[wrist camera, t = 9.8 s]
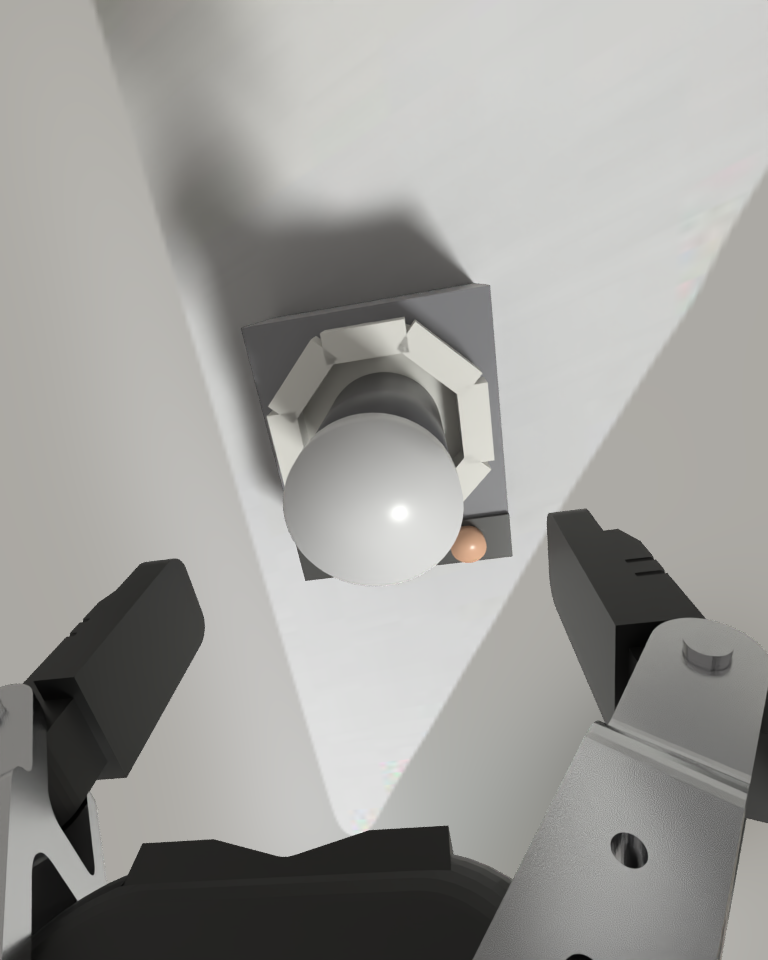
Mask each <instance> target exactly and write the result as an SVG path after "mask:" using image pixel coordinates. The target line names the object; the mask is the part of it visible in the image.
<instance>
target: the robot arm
mask: <svg viewBox="0 0 768 960" xmlns="http://www.w3.org/2000/svg"><path fill="white" fill-rule="evenodd" d="M547 537H548V558H549V577H550V586H551V592H552V597H553V600H554V604H555V607H556V609H557V612H558V614H559V616H560V619H561V621H562V623H563V626H564V628H565V630H566V633H567V635H568V637H569V640H570V642H571V644H572V647H573V649H574V651H575V654H576V656H577V658H578V661H579V663H580V665H581V668H582V670H583V672H584V675H585V677H586V679H587V682H588V684H589V686H590V688H591V690H592V693H593V696H594V698H595V700H596V702H597V705H598V707H599V710H600V712H601V714H602V717H603V719H604V721H605V723H603V722H601V721H596V722H594V723H593V724H592V725H591V726H590V728H589V729H588V731H587V733H586V735H585V737H584V739H583V741H582V743H581V745H580V747H579V748H578V750H577V752H576V754H575V757H574V759H573V761H572V763H571V764H570V766H569V768H568V770H567V772H566V774H565V776H564V778H563V780H562V783H561V784H560V786H559V788H558V790H557V792H556V795H555V797H554V798H553V800H552V802H551V804H550V806H549V808H548V810H547V812H546V815H545V816H544V818H543V820H542V822H541V824H540V826H539V828H538V830H537V832H536V834H535V836H534V838H533V840H532V842H531V844H530V846H529V848H528V850H527V852H526V854H525V856H524V858H523V860H522V862H521V864H520V867H519V868H518V870H517V872H516V874H515V876H514V878H513V879H511V878H510V877H508V876H506V875H504V874H503V873H501V872H499V871H497V870H495V869H494V868H491V867H490V866H487V865H485V864H482V863H479V862H477V861H474V860H472V859H469V858H465V857H461V856H458V855H454V854H453V850H452V844H451V838H450V833H449V827H448V826H435V827H418V828H401V829H385V830H384V829H383V830H369V831H366V832H363V833H360V834H357V835H354V836H351V837H348V838H345V839H342V840H339V841H336V842H333V843H330V844H327V845H324V846H321V847H318V848H315V849H312V850H309V851H306V852H303V853H300V854H297V855H294V856H290V857H278V856H274V855H270V854H267V853H263V852H259V851H256V850H252V849H248V848H244V847H240V846H237V845H233V844H229V843H226V842H222V841H218V840H214V839H212V840H197V841H196V840H195V841H178V842H161V843H143V844H142V846H141V848H140V850H139V852H138V855H137V857H136V859H135V861H134V863H133V865H132V867H131V870H130V872H129V874H128V875H127V876H124V877H122V878H120V879H117V880H115V881H113V882H111V883H109V884H107V880H106V873H105V866H104V858H103V850H102V842H101V835H100V828H99V820H98V813H97V805H96V801H95V799H94V797H93V796H92V794H91V792H90V790H91V788H92V786H93V785H94V783H95V781H96V780H101V779H114V778H126V777H127V776H128V774H129V772H130V771H131V769H132V767H133V765H134V763H135V761H136V760H137V758H138V756H139V754H140V753H141V751H142V749H143V747H144V745H145V744H146V742H147V740H148V738H149V737H150V735H151V733H152V731H153V729H154V728H155V726H156V724H157V722H158V720H159V719H160V717H161V715H162V713H163V711H164V710H165V708H166V706H167V704H168V702H169V701H170V699H171V697H172V695H173V694H174V691H175V690H176V688H177V686H178V685H179V683H180V681H181V679H182V677H183V676H184V674H185V672H186V670H187V668H188V667H189V665H190V663H191V661H192V660H193V658H194V656H195V654H196V652H197V651H198V649H199V647H200V645H201V643H202V640H203V637H204V631H205V630H204V629H205V624H204V617H203V613H202V611H201V608H200V605H199V602H198V600H197V597H196V594H195V592H194V589H193V586H192V583H191V581H190V578H189V576H188V573H187V570H186V568H185V565H184V564H183V563H182V561H180V560H179V559H167V560H159V561H151V562H144V563H141V564H140V565H139V566H138V567H137V568H136V569H135V570H134V571H133V572H132V574H131V575H130V576H129V577H128V578H127V579H126V580H125V581H124V582H123V584H121V586H120V587H119V588H118V589H117V590H116V591H114V592H113V593H112V594H110V595H109V596H107V597H106V598H104V599H103V600H102V601H100V602H99V603H98V604H97V605H96V606H95V607H94V608H93V609H92V610H91V611H90V612H89V613H88V614H87V616H86V617H85V618H84V619H83V622H82V623H79V624H78V625H77V626H76V627H75V628H74V629H73V630H72V632H71V633H70V637H66V638H65V639H64V640H63V641H62V642H61V643H60V644H59V646H58V647H57V648H56V649H55V650H54V651H53V652H52V653H51V654H50V655H49V656H48V657H47V658H46V659H45V660H44V662H43V663H42V664H41V665H40V666H39V667H38V668H37V669H36V670H35V671H34V672H33V673H32V674H31V675H30V677H29V678H28V679H27V680H26V681H25V682H24V683H23V684H10V685H6V686H2V687H0V960H721V958H722V953H723V947H724V941H725V935H726V930H727V924H728V919H729V913H730V908H731V902H732V896H733V891H734V885H735V880H736V874H737V869H738V863H739V857H740V852H741V846H742V841H743V835H744V830H745V824H746V819H747V818H749V819H753V820H757V821H761V822H765V823H768V654H767V653H766V651H765V650H764V649H763V647H762V646H761V645H760V644H759V643H758V642H757V641H755V640H754V639H753V638H752V637H750V636H749V635H747V634H746V633H744V632H742V631H740V630H738V629H736V628H734V627H732V626H729V625H727V624H723V623H720V622H717V621H712V620H708V619H705V617H704V616H703V615H702V614H701V612H700V611H699V610H698V609H697V608H696V607H695V605H694V604H693V603H692V602H691V601H690V600H689V598H688V597H687V596H686V595H685V594H684V592H683V591H682V590H681V589H680V588H679V586H678V585H677V584H676V583H675V582H674V581H673V580H672V578H671V577H670V576H669V575H668V573H665V572H664V569H663V567H662V566H661V565H660V564H659V563H658V562H657V561H656V560H654V559H653V556H652V554H651V553H650V552H649V551H648V550H647V549H646V547H645V546H644V545H643V544H642V543H641V541H639V540H637V539H636V538H634V537H632V536H630V535H628V534H626V533H624V532H623V531H621V530H619V529H614V530H606V531H603V530H602V528H601V527H600V526H599V524H598V523H597V522H596V521H595V519H594V517H593V516H592V515H591V513H590V512H589V511H588V510H587V509H578V510H570V511H562V512H554V513H549V514H548V516H547Z"/></svg>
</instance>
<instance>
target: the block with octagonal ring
mask: <svg viewBox="0 0 768 960" xmlns="http://www.w3.org/2000/svg"><path fill="white" fill-rule="evenodd" d="M241 330H242V334H243V338H244V342H245V346H246V349H247V353H248V357H249V361H250V365H251V369H252V372H253V376H254V380H255V384H256V388H257V392H258V395H259V399H260V403H261V407H262V411H263V415H264V418H265V422H266V426H267V430H268V434H269V438H270V441H271V445H272V449H273V453H274V457H275V461H276V464H277V468H278V472H279V476H280V480H281V484H282V487H283V491H284V487H285V483H286V479H287V477H288V474H289V472H290V469H291V468H292V466H293V464H294V462H295V461H296V459H297V457H298V456H299V454H300V453H301V451H302V449H303V448H304V446H305V445H306V444H307V443H308V441H309V440H310V439H311V438H312V437H313V436H314V435H315V434H316V432H317V430H318V429H319V427H320V425H321V424H322V422H323V420H324V418H325V417H326V415H327V413H328V412H329V410H330V408H331V406H332V405H333V403H334V401H335V400H336V398H337V396H338V395H339V394H340V392H341V391H342V390H343V389H344V388H345V387H346V386H347V385H348V384H350V383H351V382H353V381H354V380H356V379H358V378H360V377H362V376H365V375H367V374H371V373H377V372H392V373H397V374H401V375H404V376H407V377H409V378H411V379H413V380H414V381H416V382H418V383H419V384H420V385H421V386H423V387H424V388H425V389H426V390H427V391H428V392H429V394H430V395H431V396H432V398H433V399H434V401H435V403H436V405H437V407H438V410H439V413H440V417H441V422H442V426H443V430H444V434H445V438H446V442H447V447H448V451H449V454H450V456H451V458H452V460H453V462H454V465H455V467H456V470H457V473H458V477H459V481H460V485H461V489H462V494H463V505H464V511H463V520H462V524H461V528H460V531H459V534H458V536H457V538H456V541H455V542H454V544H453V546H452V547H451V549H450V550H449V552H448V553H447V554H446V555H445V557H444V558H443V559H442V560H441V561H440V562H439V563H438V564H437V565H443V564H452V563H460V562H465V563H471V562H475V561H478V560H485V559H494V558H502V557H511V556H512V544H511V532H510V519H509V513H508V503H507V490H506V478H505V466H504V453H503V441H502V428H501V416H500V404H499V391H498V379H497V366H496V354H495V342H494V329H493V317H492V304H491V292H490V285H486V284H476V283H472V284H467V285H461V286H455V287H449V288H444V289H438V290H432V291H426V292H421V293H415V294H409V295H403V296H398V297H392V298H386V299H380V300H375V301H369V302H363V303H358V304H352V305H346V306H340V307H335V308H329V309H323V310H317V311H312V312H306V313H300V314H294V315H289V316H283V317H277V318H272V319H268V320H265V321H262V322H259V323H256V324H252V325H249V326H246V327H243V328H241ZM296 547H297V545H296ZM297 550H298V554H299V558H300V562H301V566H302V570H303V573H304V577H305V581H308V580H316V579H325V578H333V577H332V576H331V575H329V574H327V573H325V572H323V571H322V570H321V569H319V568H318V567H316V566H315V565H314V564H313V563H312V562H310V561H309V560H308V559H307V558H306V557H305V556H304V555H303V553H302V552H301V551H300V550H299V548H298V547H297Z"/></svg>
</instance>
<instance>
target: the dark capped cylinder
mask: <svg viewBox="0 0 768 960" xmlns="http://www.w3.org/2000/svg"><path fill="white" fill-rule="evenodd" d="M283 511H284V517H285V522H286V525H287V528H288V531H289V533H290V535H291V537H292V539H293V541H294V542H295V544H296V545H297V547H298V548H299V550H300V551H301V552H302V553H303V555H304V556H305V557H306V558H307V559H308V560H309V561H310V562H312V563H313V564H314V565H315V566H316V567H318V568H319V569H321V570H322V571H323V572H325V573H327V574H329V575H331V576H332V577H335V578H337V579H340V580H342V581H345V582H348V583H352V584H357V585H363V586H389V585H395V584H400V583H403V582H406V581H409V580H412V579H414V578H416V577H419V576H420V575H422V574H424V573H426V572H427V571H429V570H430V569H431V568H433V567H434V566H435V565H437V564H438V563H439V562H440V561H441V560H442V559H443V558H444V557H445V555H446V554H447V553H448V552H449V550H450V549H451V547H452V546H453V544H454V542H455V541H456V538H457V536H458V534H459V531H460V528H461V524H462V520H463V511H464V505H463V494H462V489H461V485H460V481H459V477H458V473H457V470H456V467H455V465H454V462H453V460H452V458H451V456H450V454H449V451H448V447H447V442H446V438H445V434H444V430H443V426H442V422H441V417H440V413H439V410H438V407H437V405H436V403H435V401H434V399H433V398H432V396H431V395H430V394H429V392H428V391H427V390H426V389H425V388H424V387H423V386H421V385H420V384H419V383H418V382H416V381H414V380H413V379H411V378H409V377H407V376H404V375H401V374H397V373H392V372H377V373H371V374H367V375H365V376H362V377H360V378H358V379H356V380H354V381H353V382H351V383H350V384H348V385H347V386H346V387H345V388H344V389H343V390H342V391H341V392H340V394H339V395H338V396H337V398H336V400H335V401H334V403H333V405H332V406H331V408H330V410H329V412H328V413H327V415H326V417H325V418H324V420H323V422H322V424H321V425H320V427H319V429H318V430H317V432H316V434H315V435H314V436H313V437H312V438H311V439H310V440H309V441H308V443H307V444H306V445H305V446H304V448H303V449H302V451H301V453H300V454H299V456H298V457H297V459H296V461H295V462H294V464H293V466H292V468H291V469H290V472H289V474H288V477H287V479H286V483H285V487H284V494H283Z"/></svg>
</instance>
